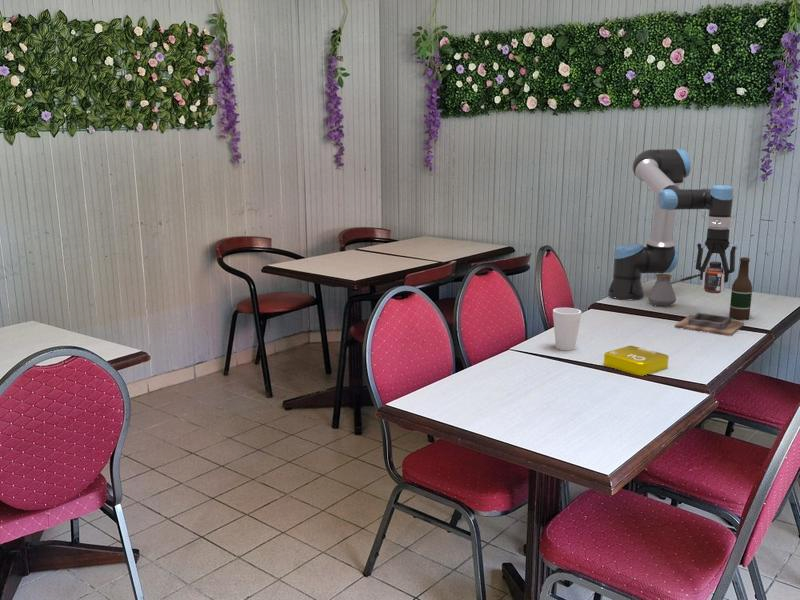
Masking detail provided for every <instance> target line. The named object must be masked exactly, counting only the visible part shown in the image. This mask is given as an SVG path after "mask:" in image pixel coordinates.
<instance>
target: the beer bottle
mask: <svg viewBox="0 0 800 600" xmlns="http://www.w3.org/2000/svg"><path fill="white" fill-rule="evenodd" d="M739 261H740V263H739V269H738V274H737V277H736V279H734V281H733V283H732V286H731V292H730V293H731V295H730V303H729V316H728V317H731V318H732V320H735V319H736V320H735V321H747V320H749V319H750V313H751V303H752V293H753V285H752V282H751V280H750V279H749V271H750V270H749V268H750V265H749V264H750V262H751V261H750V257H740V259H739Z"/></svg>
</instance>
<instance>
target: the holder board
mask: <svg viewBox="0 0 800 600" xmlns="http://www.w3.org/2000/svg"><path fill="white" fill-rule="evenodd" d="M744 325H745V322H744V321H741V320H733V319H732V318H731V317H729V316H723V315H715V314H707V313H700V312H698V313H695V314H689V315H688V316H686V317H685V318H683V319H682V320H680V321H679V322H677V323H676V324H675V325H674V328H675V327H676V328H675V329H680V328H683V329H682V330H687V329H689V330H688V331H694V330H695V331H694V332H700V331H702V332H701V333H707V332H709V333H708V334H714V335H722V336H730V337H731V336H733V335H734V334H735V333H737V332H738V331H739V330H740V329H741V328H742V327H743V326H744Z"/></svg>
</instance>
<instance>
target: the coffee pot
mask: <svg viewBox="0 0 800 600" xmlns="http://www.w3.org/2000/svg"><path fill="white" fill-rule="evenodd" d="M655 277H656V281H655V282H654V285H653V286H652V289H651V290H650V292H649V294H648V296H647V300H648V302H649V303H651V305H652V304H653V305H652V306H654V305H656V306H655V307H658V306H670V307H671V306H672V305H674V304H675V302H676V301H677V297H676V294H675V291H674V289H673V286H672V285H673V284H676V283H679V282H685V281H688V280H689V281H690V280H692V279H695V278H698V277H700V273H699V274H694V275H689V276H686V277H684V278H683V277H682V278H680V279H677V280H673V281H671V278H672V274H668V273H655Z"/></svg>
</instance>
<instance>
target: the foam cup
mask: <svg viewBox="0 0 800 600" xmlns="http://www.w3.org/2000/svg"><path fill="white" fill-rule="evenodd" d="M552 319H553V327H554V328H553V329H554V342H555V349H556V350H559V349H560V351H566V350H570V351H574V350H575V348H576V343H577V339H578V333H579V329H580V323H581V319H582V310H580V309H578V308H573V307H555V308H554V309H552Z"/></svg>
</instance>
